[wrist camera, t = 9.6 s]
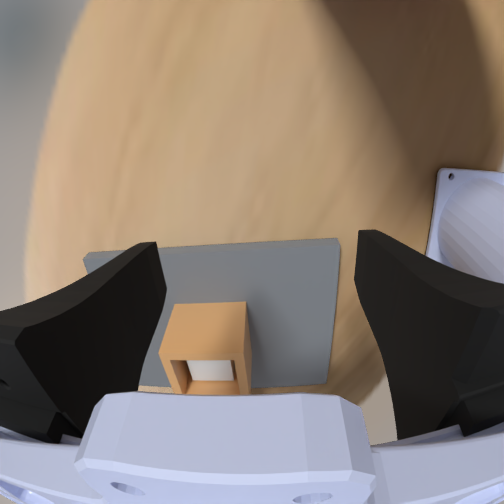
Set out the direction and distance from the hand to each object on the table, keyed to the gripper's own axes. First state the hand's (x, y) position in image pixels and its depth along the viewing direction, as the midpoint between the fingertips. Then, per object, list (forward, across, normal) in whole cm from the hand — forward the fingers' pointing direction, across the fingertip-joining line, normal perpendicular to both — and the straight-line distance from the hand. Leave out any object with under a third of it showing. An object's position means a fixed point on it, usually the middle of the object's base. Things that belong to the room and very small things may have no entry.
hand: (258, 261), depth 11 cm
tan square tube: (+8, +4, +13) cm, 16 cm away
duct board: (+9, +4, +11) cm, 15 cm away
